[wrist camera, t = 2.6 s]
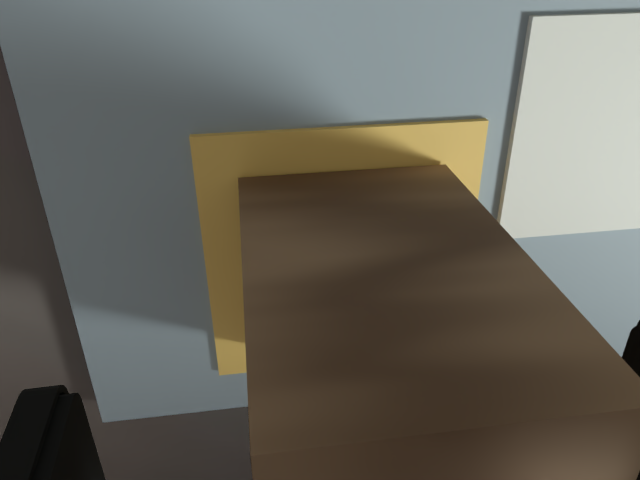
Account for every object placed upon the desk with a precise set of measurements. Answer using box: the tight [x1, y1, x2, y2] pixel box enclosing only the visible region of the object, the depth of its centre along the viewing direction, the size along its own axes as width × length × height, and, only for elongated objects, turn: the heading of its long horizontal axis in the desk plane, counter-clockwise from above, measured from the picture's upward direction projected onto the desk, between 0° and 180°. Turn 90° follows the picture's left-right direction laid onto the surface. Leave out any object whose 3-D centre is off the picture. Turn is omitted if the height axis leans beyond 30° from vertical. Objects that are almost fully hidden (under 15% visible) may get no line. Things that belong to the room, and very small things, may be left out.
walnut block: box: [238, 164, 640, 480], centre depth 11 cm, size 5×5×8 cm
